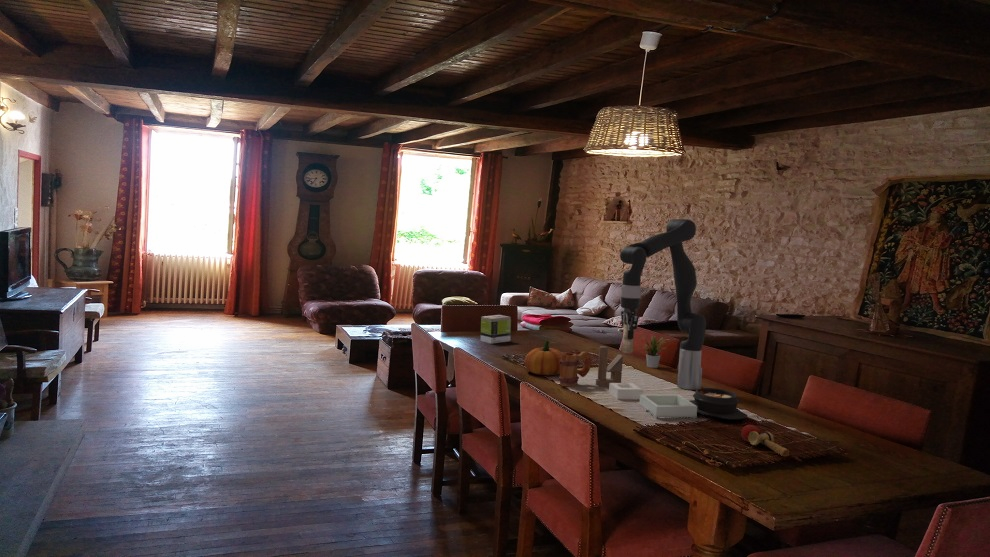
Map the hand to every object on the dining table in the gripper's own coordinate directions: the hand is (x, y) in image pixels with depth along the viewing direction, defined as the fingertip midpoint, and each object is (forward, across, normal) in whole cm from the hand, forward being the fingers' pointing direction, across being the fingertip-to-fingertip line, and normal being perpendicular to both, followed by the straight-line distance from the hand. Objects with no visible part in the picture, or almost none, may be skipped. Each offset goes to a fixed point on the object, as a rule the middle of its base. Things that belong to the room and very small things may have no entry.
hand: (628, 338), depth 262 cm
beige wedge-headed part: (+25, +17, +1) cm, 30 cm away
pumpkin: (+25, +43, +23) cm, 55 cm away
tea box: (+25, +119, +34) cm, 126 cm away
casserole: (+25, -22, -28) cm, 44 cm away
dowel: (+6, 0, 0) cm, 6 cm away
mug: (+25, +19, +16) cm, 35 cm away
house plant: (+25, +56, -37) cm, 71 cm away
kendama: (+25, -59, -26) cm, 69 cm away
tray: (+25, -19, -10) cm, 33 cm away
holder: (+25, 0, 0) cm, 25 cm away
